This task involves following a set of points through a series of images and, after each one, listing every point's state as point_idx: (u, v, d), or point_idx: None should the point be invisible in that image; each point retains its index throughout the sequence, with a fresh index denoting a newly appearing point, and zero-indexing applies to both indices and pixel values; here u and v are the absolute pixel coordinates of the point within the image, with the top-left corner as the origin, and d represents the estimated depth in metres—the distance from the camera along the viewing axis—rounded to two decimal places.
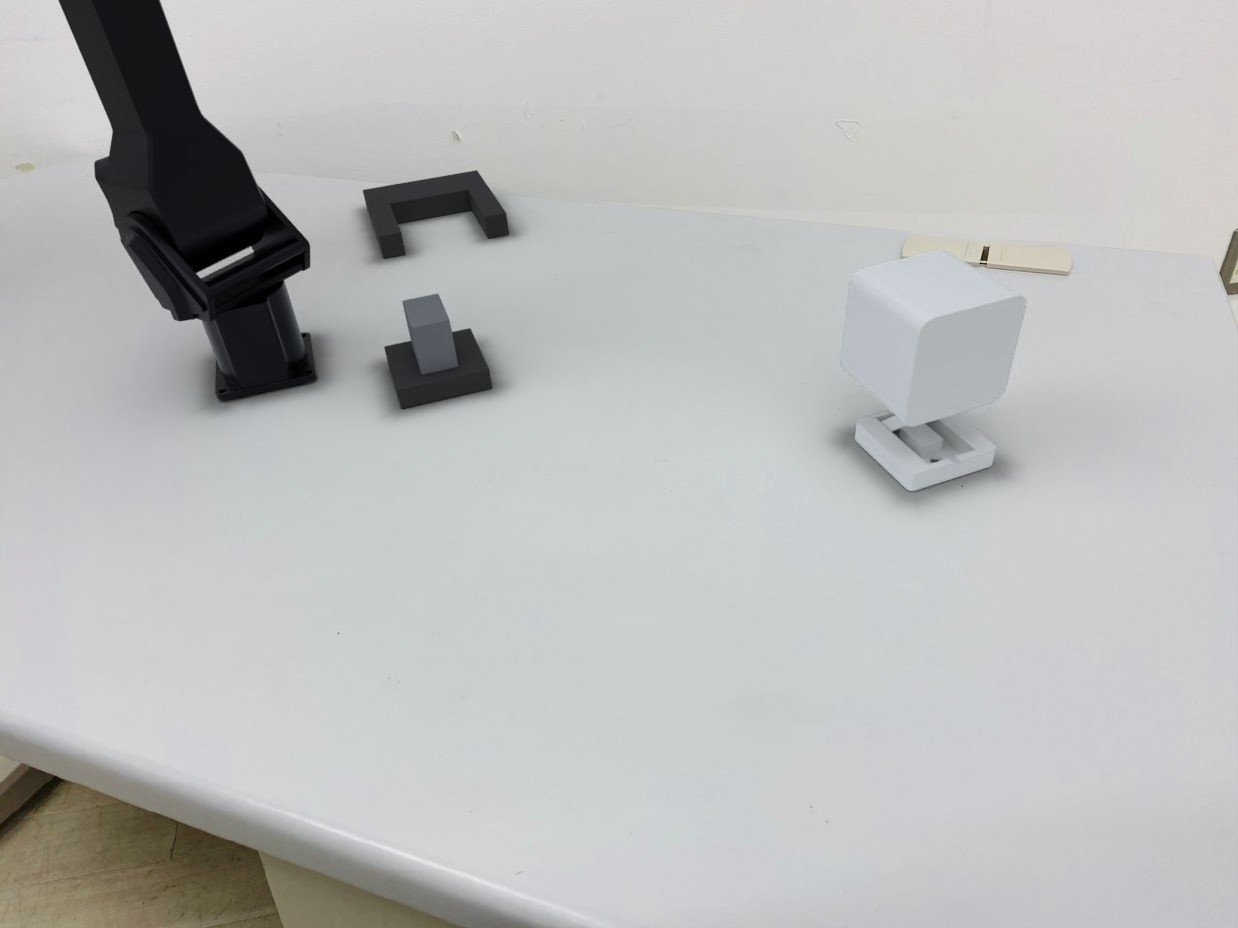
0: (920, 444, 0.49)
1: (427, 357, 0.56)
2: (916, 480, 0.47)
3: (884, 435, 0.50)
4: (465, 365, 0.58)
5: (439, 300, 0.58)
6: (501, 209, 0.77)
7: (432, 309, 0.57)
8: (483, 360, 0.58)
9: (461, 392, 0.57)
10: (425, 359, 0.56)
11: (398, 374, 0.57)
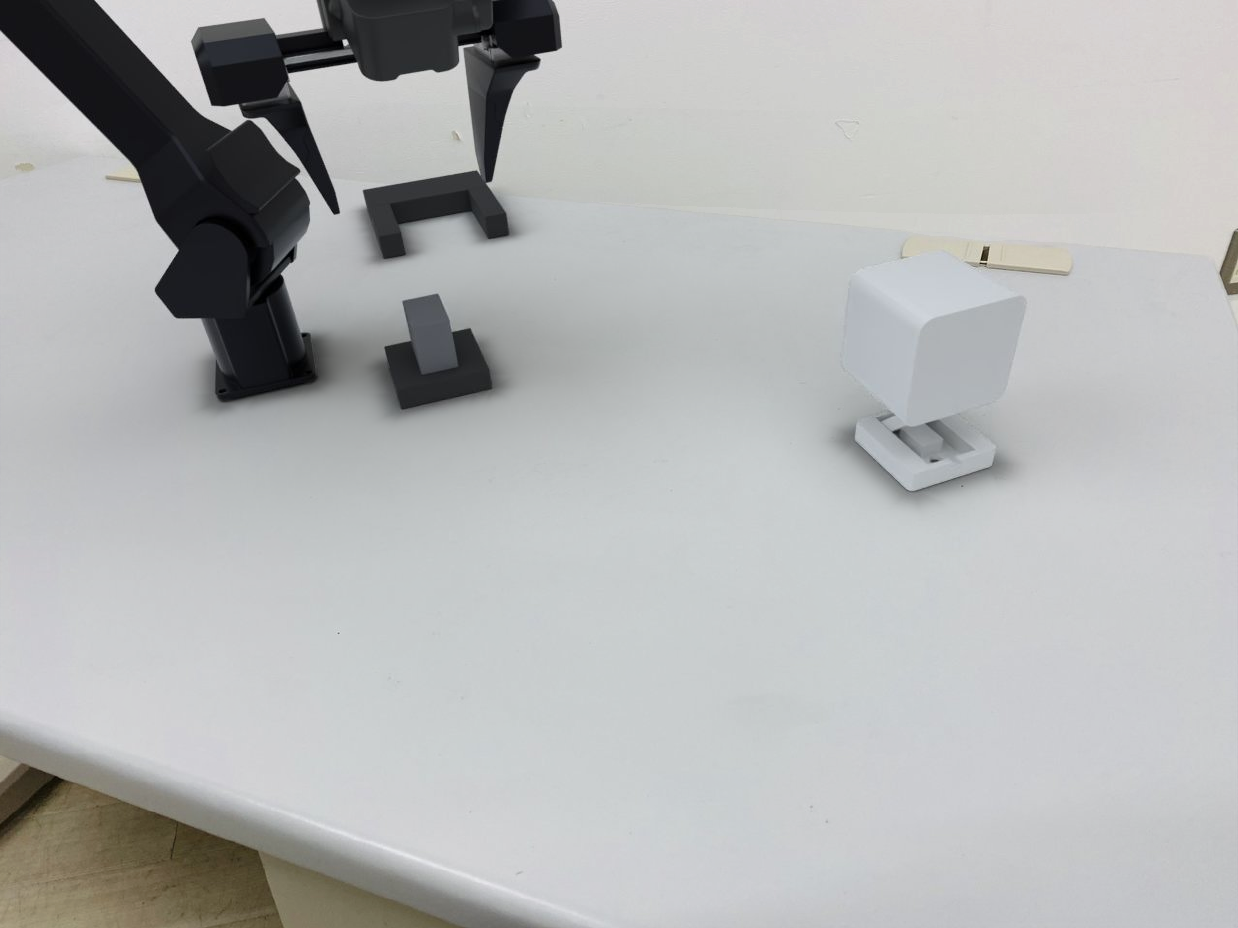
0: (920, 444, 0.49)
1: (427, 357, 0.56)
2: (916, 480, 0.47)
3: (884, 435, 0.50)
4: (465, 365, 0.58)
5: (439, 300, 0.58)
6: (501, 209, 0.77)
7: (432, 309, 0.57)
8: (483, 360, 0.58)
9: (461, 392, 0.57)
10: (425, 359, 0.56)
11: (398, 374, 0.57)
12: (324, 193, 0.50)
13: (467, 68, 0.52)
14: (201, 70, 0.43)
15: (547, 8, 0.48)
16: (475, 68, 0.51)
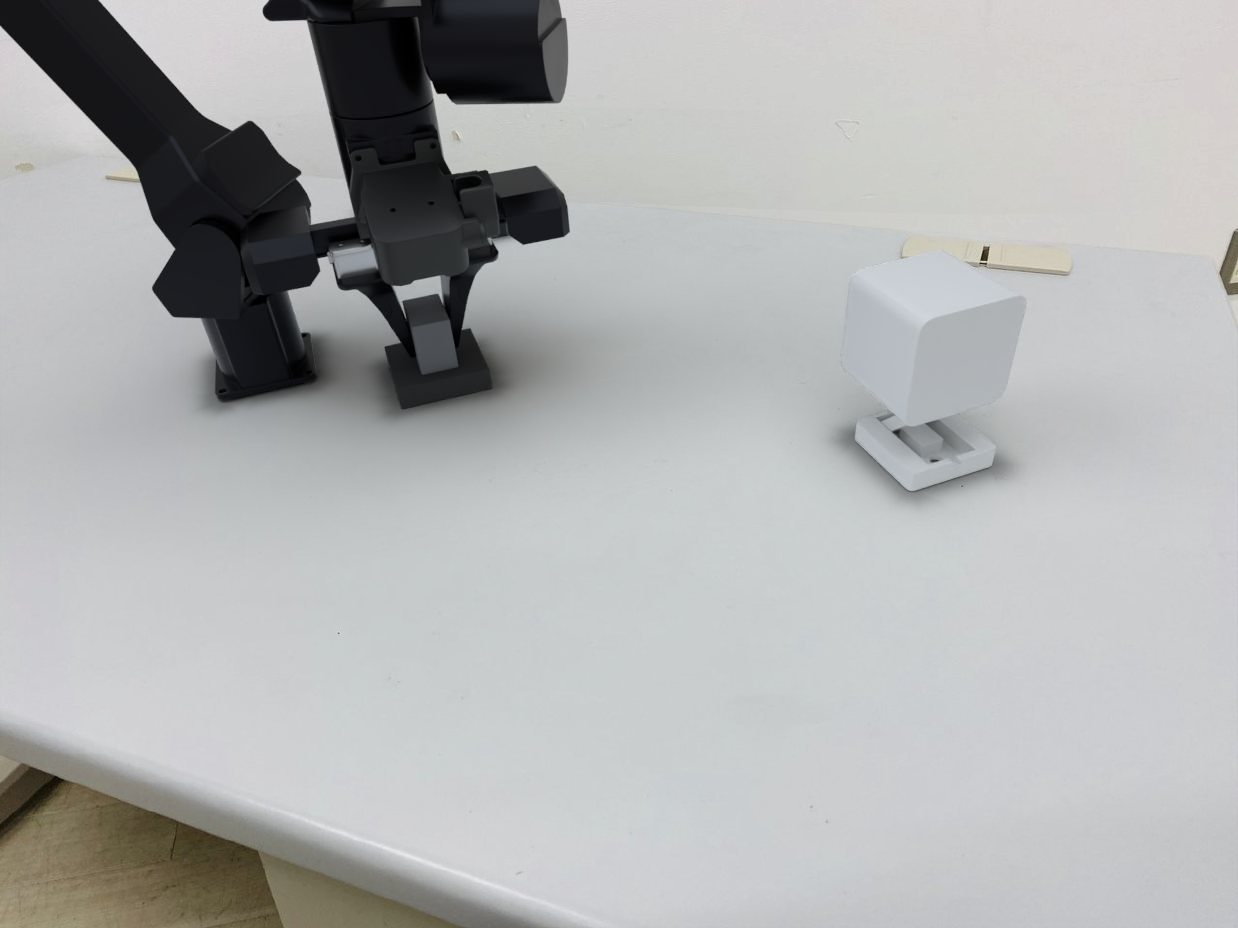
0: (920, 444, 0.49)
1: (427, 357, 0.56)
2: (916, 480, 0.47)
3: (884, 435, 0.50)
4: (465, 365, 0.58)
5: (439, 300, 0.58)
6: None
7: (432, 309, 0.57)
8: (483, 360, 0.58)
9: (461, 392, 0.57)
10: (425, 359, 0.56)
11: (398, 374, 0.57)
12: (403, 342, 0.57)
13: None
14: (245, 266, 0.49)
15: (556, 202, 0.53)
16: None
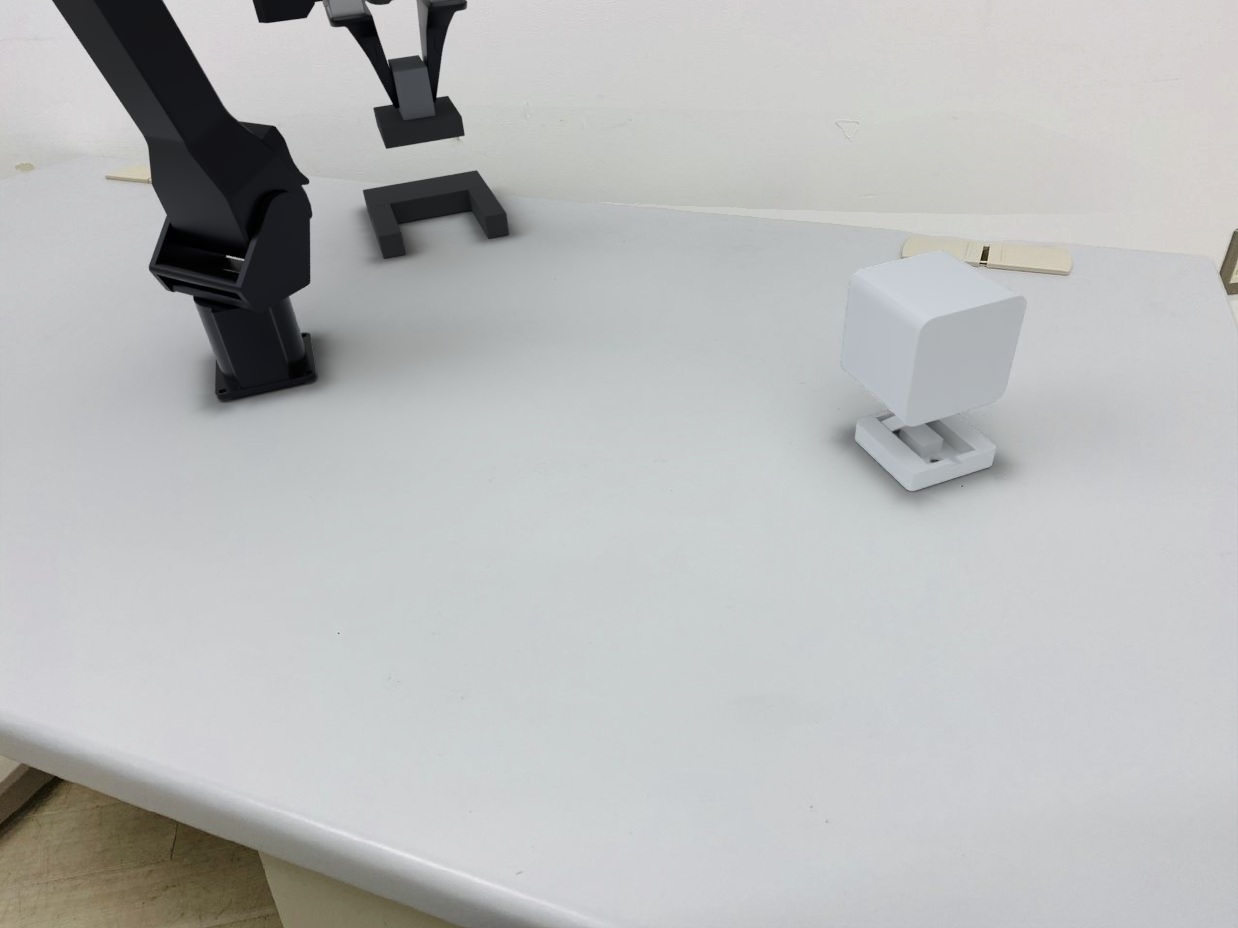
0: (920, 444, 0.49)
1: (408, 103, 0.66)
2: (916, 480, 0.47)
3: (884, 435, 0.50)
4: (441, 115, 0.67)
5: (419, 58, 0.67)
6: (501, 209, 0.77)
7: (412, 62, 0.66)
8: (457, 112, 0.67)
9: (438, 137, 0.67)
10: (407, 105, 0.66)
11: (383, 121, 0.67)
12: (388, 90, 0.66)
13: (418, 10, 0.66)
14: None
15: None
16: (421, 9, 0.65)
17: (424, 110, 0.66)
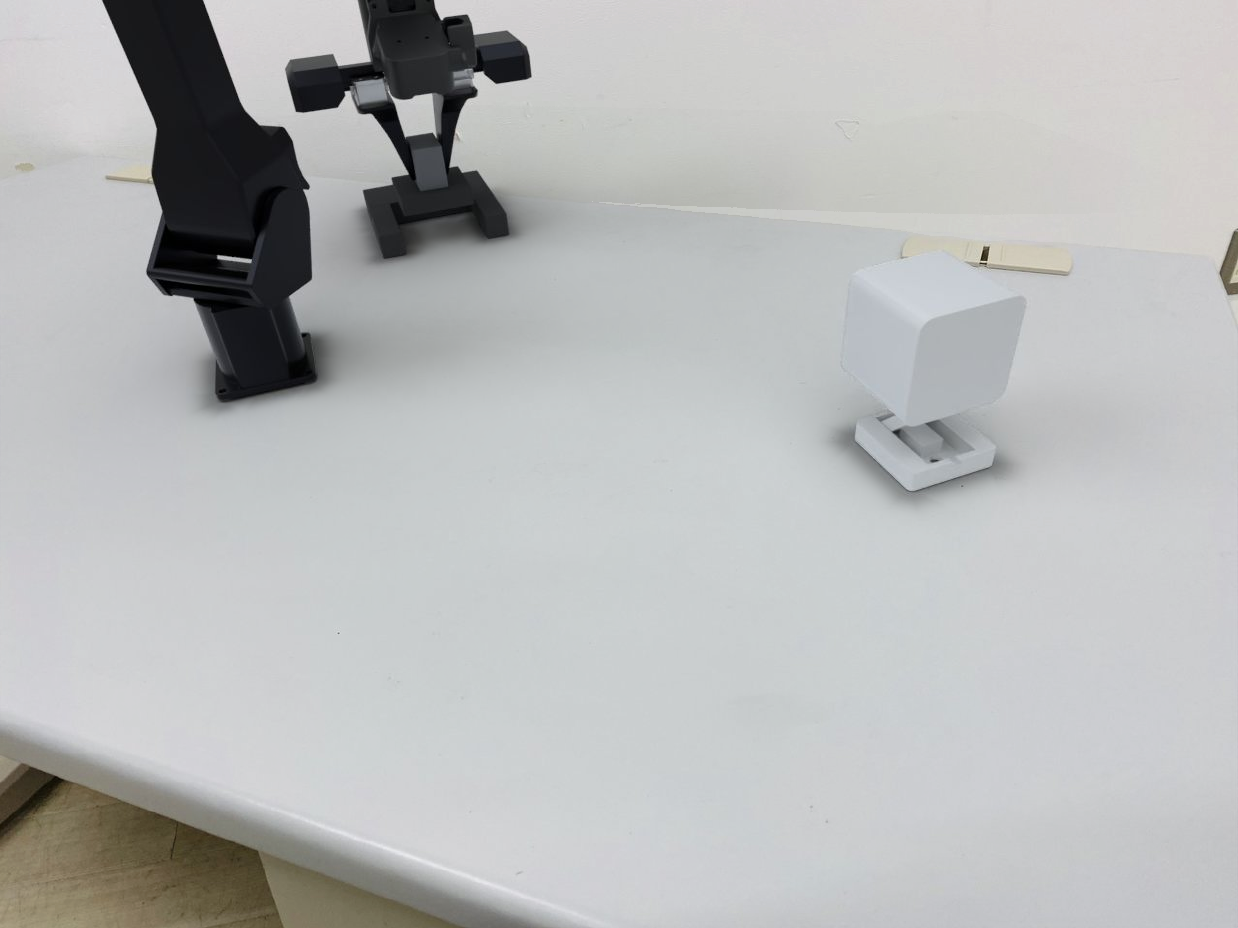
0: (920, 444, 0.49)
1: (424, 176, 0.74)
2: (916, 480, 0.47)
3: (884, 435, 0.50)
4: (453, 186, 0.75)
5: (433, 136, 0.75)
6: (501, 209, 0.77)
7: (428, 140, 0.74)
8: (467, 183, 0.76)
9: (450, 206, 0.75)
10: (423, 178, 0.74)
11: (402, 191, 0.75)
12: (406, 165, 0.74)
13: (433, 94, 0.75)
14: (290, 89, 0.67)
15: (520, 51, 0.70)
16: (436, 95, 0.73)
17: (438, 182, 0.75)
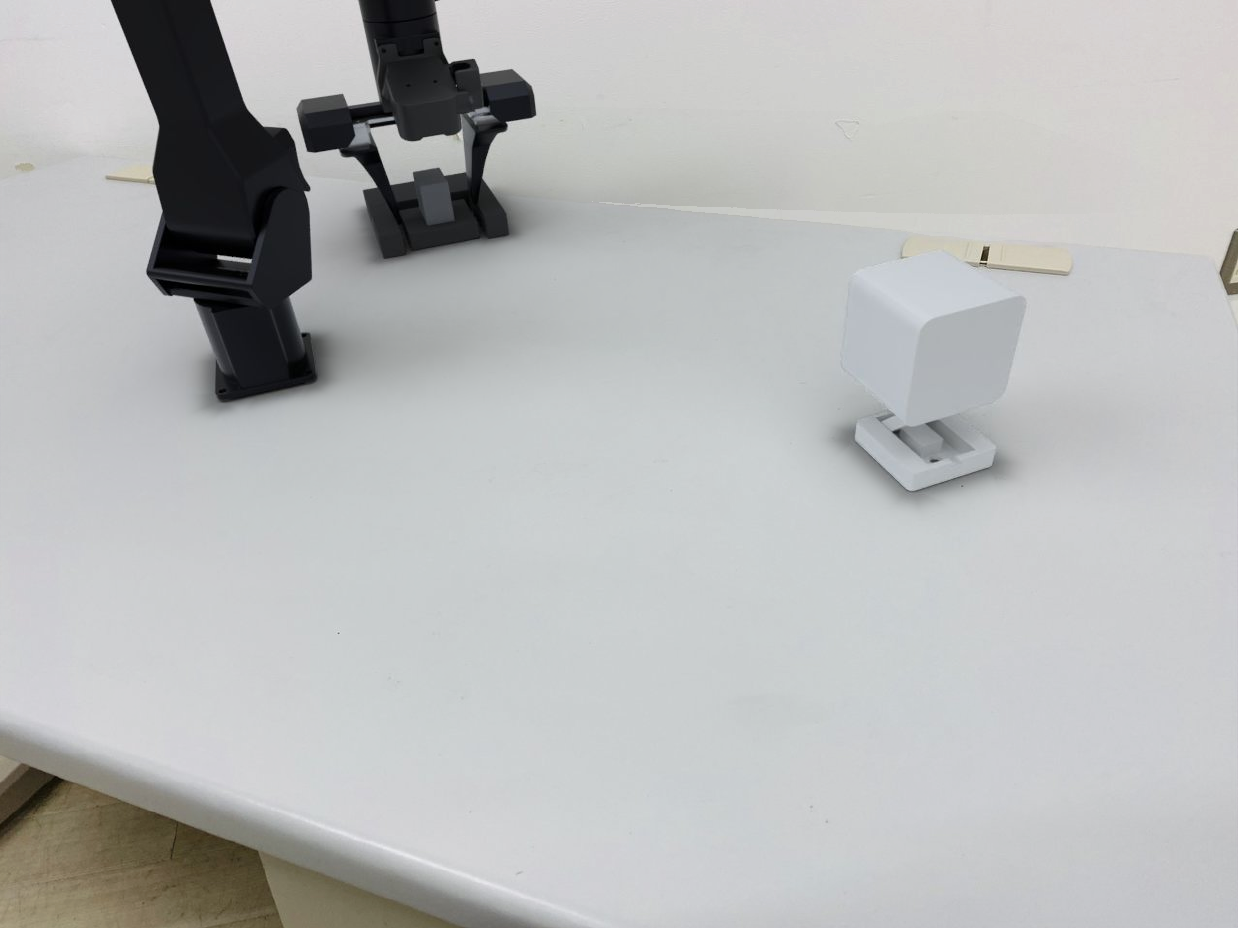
0: (920, 444, 0.49)
1: (431, 211, 0.76)
2: (916, 480, 0.47)
3: (884, 435, 0.50)
4: (459, 220, 0.77)
5: (440, 171, 0.77)
6: (501, 209, 0.77)
7: (435, 176, 0.76)
8: (473, 217, 0.78)
9: (457, 239, 0.77)
10: (430, 213, 0.76)
11: (409, 225, 0.77)
12: (390, 204, 0.76)
13: (463, 127, 0.77)
14: (302, 130, 0.69)
15: (525, 91, 0.72)
16: (466, 128, 0.76)
17: (445, 216, 0.77)
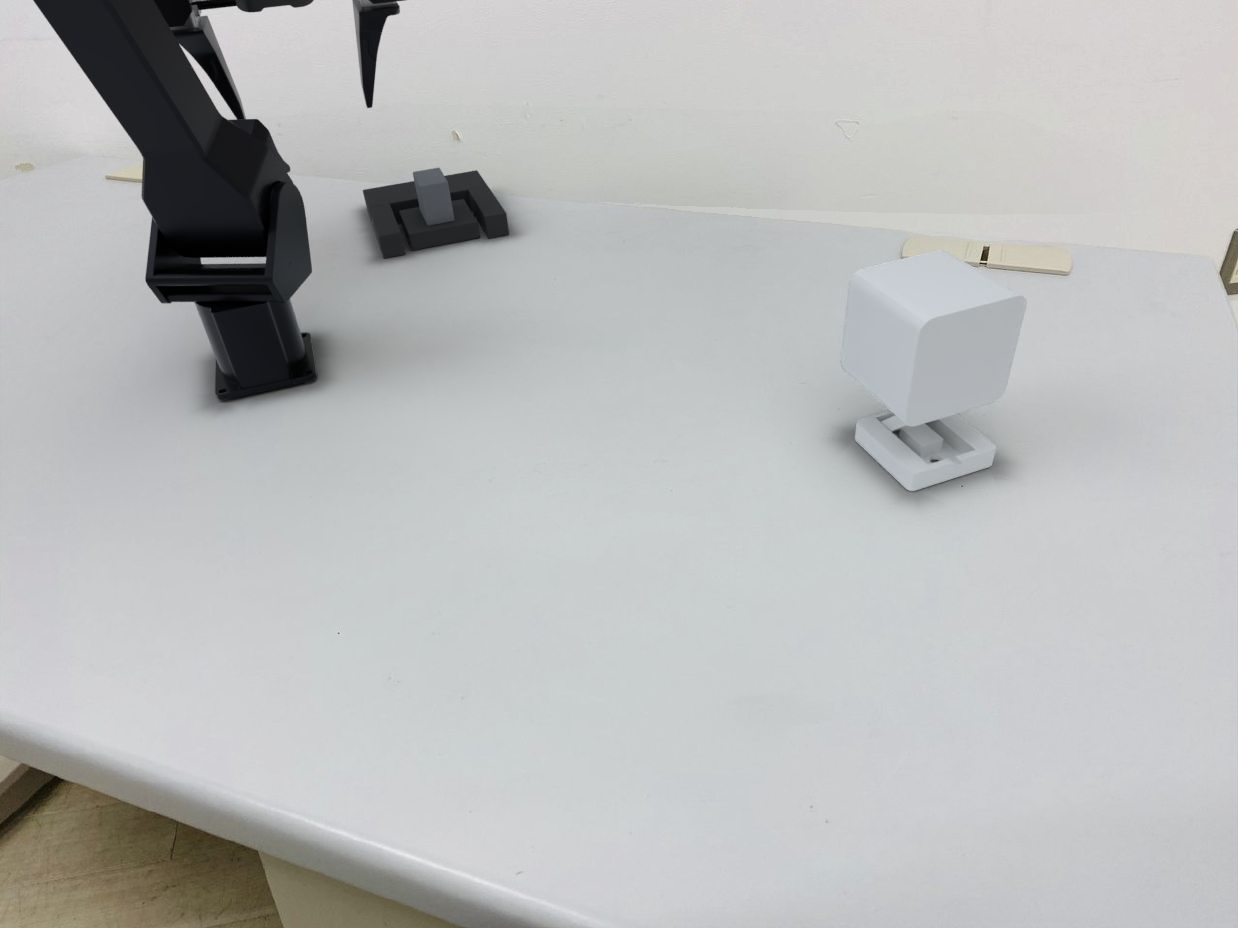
0: (920, 444, 0.49)
1: (431, 211, 0.76)
2: (916, 480, 0.47)
3: (884, 435, 0.50)
4: (459, 220, 0.77)
5: (440, 171, 0.77)
6: (501, 209, 0.77)
7: (435, 176, 0.76)
8: (473, 217, 0.78)
9: (457, 239, 0.77)
10: (430, 213, 0.76)
11: (409, 225, 0.77)
12: (231, 107, 0.64)
13: (354, 15, 0.66)
14: None
15: None
16: (355, 14, 0.65)
17: (445, 216, 0.77)
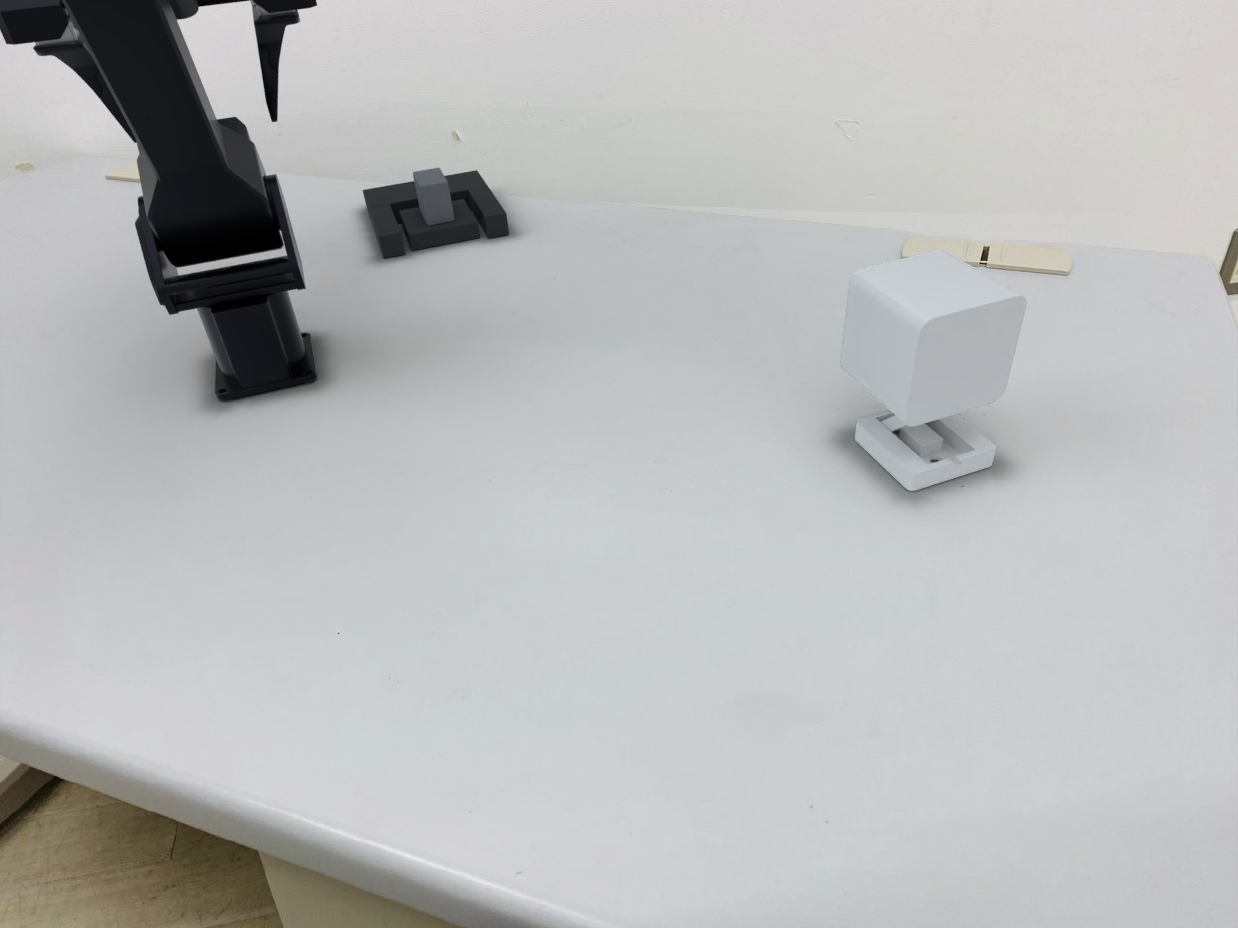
0: (920, 444, 0.49)
1: (431, 211, 0.76)
2: (916, 480, 0.47)
3: (884, 435, 0.50)
4: (459, 220, 0.77)
5: (440, 171, 0.77)
6: (501, 209, 0.77)
7: (435, 176, 0.76)
8: (473, 217, 0.78)
9: (457, 239, 0.77)
10: (430, 213, 0.76)
11: (409, 225, 0.77)
12: (122, 123, 0.60)
13: None
14: None
15: None
16: None
17: (445, 216, 0.77)
